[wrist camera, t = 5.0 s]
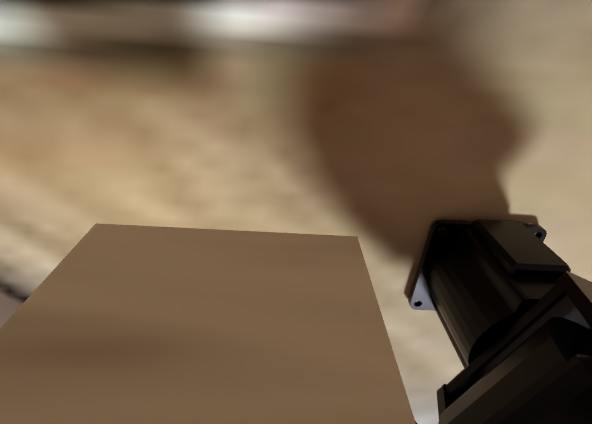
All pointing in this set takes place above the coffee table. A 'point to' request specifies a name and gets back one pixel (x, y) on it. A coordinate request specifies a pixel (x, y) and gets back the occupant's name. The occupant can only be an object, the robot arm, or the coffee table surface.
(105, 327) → the birch cube
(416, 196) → the coffee table surface
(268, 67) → the coffee table surface
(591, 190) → the coffee table surface
